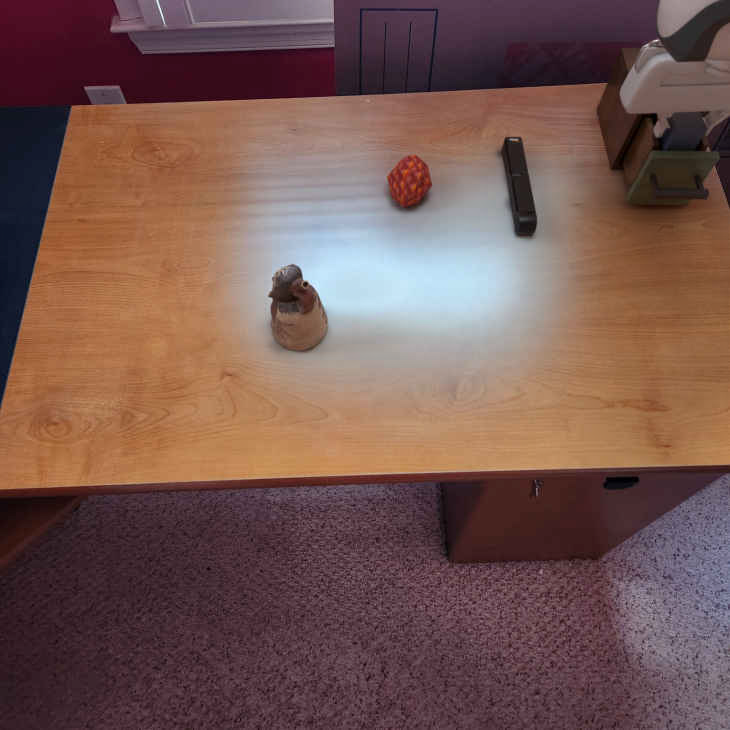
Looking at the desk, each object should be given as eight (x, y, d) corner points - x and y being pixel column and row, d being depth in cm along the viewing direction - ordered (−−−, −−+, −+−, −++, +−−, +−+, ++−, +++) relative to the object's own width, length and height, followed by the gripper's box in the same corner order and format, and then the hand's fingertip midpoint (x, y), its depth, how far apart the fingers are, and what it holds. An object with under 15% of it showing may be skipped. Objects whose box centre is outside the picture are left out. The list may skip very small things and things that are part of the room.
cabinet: (676, 170, 88) (713, 111, 79) (610, 169, 88) (639, 110, 79) (657, 110, 94) (689, 48, 85) (596, 109, 95) (621, 47, 85)
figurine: (304, 296, 78) (294, 237, 67) (339, 329, 75) (334, 273, 65) (262, 326, 75) (245, 270, 65) (296, 362, 73) (284, 309, 62)
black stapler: (533, 238, 82) (539, 223, 79) (515, 238, 82) (520, 223, 79) (517, 148, 90) (521, 132, 88) (500, 148, 90) (504, 133, 88)
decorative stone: (386, 211, 88) (399, 162, 88) (428, 218, 86) (442, 167, 86) (375, 194, 81) (389, 141, 82) (420, 201, 79) (435, 146, 80)
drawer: (694, 226, 82) (728, 179, 74) (631, 225, 82) (659, 178, 74) (668, 144, 89) (697, 94, 82) (611, 143, 90) (634, 93, 82)
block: (683, 132, 80) (698, 107, 77) (692, 153, 78) (707, 128, 75) (655, 133, 80) (668, 108, 77) (663, 154, 78) (677, 129, 75)
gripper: (654, 54, 64) (608, 153, 76) (836, 47, 64) (762, 147, 77) (639, 19, 67) (597, 120, 79) (813, 14, 67) (745, 115, 80)
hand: (679, 133), depth 78 cm, fingers closed on block, 4 cm apart
